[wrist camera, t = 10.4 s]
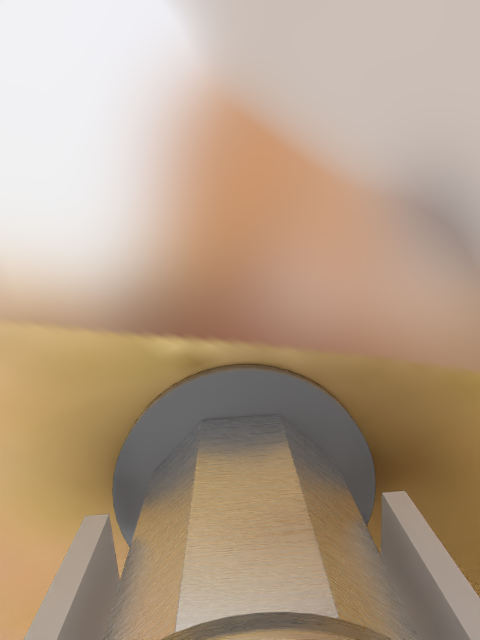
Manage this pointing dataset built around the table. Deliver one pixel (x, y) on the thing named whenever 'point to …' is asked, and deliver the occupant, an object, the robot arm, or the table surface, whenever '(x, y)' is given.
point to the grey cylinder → (253, 545)
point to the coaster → (231, 402)
